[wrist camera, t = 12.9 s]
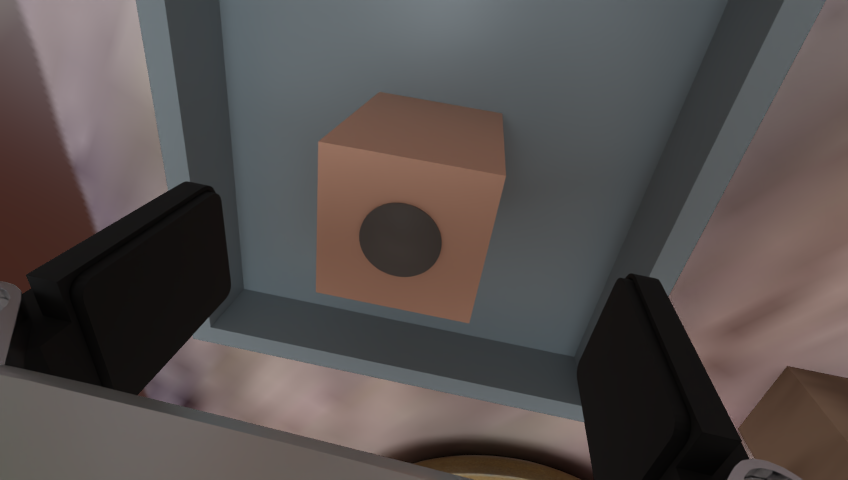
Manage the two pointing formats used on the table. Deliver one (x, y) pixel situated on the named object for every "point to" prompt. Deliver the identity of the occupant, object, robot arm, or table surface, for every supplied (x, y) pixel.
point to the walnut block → (802, 425)
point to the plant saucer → (494, 468)
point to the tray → (524, 159)
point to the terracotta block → (409, 204)
